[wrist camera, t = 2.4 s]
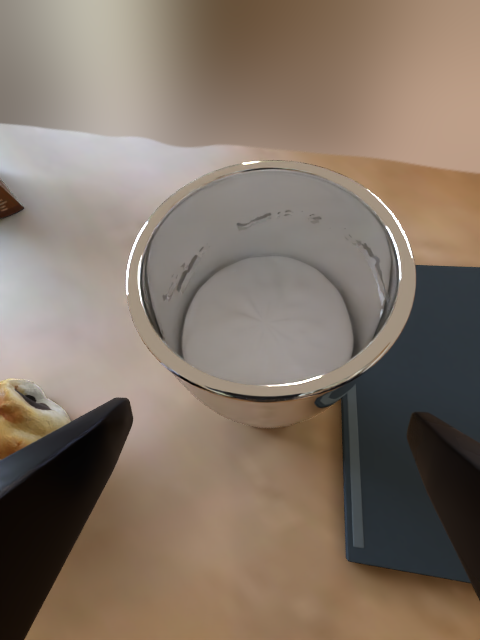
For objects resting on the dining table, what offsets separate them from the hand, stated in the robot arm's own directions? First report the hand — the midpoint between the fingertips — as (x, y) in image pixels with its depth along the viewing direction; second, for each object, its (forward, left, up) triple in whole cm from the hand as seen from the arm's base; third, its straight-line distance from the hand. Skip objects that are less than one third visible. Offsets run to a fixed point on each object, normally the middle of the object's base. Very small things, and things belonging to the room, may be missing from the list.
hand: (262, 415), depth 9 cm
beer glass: (+3, -1, -11) cm, 12 cm away
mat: (-1, -12, -11) cm, 16 cm away
